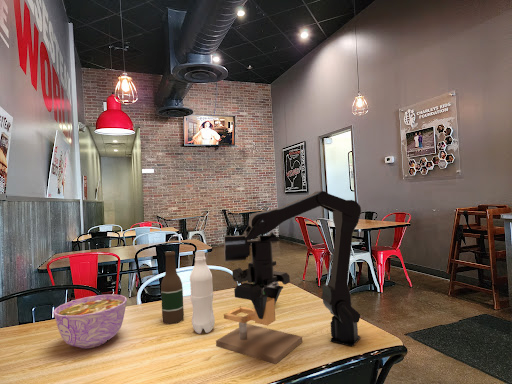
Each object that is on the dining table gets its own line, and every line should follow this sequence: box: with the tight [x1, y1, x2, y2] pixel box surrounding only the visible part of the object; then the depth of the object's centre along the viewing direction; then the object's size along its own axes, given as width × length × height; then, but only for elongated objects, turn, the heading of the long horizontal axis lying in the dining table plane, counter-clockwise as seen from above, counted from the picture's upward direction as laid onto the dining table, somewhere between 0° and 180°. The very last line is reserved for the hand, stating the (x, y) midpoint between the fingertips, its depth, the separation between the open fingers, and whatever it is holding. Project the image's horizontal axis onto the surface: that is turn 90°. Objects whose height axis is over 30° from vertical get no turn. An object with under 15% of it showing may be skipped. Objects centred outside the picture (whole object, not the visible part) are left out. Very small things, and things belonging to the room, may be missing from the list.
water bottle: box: [189, 250, 216, 334], centre depth 103 cm, size 7×7×25 cm
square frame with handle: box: [223, 297, 277, 326], centre depth 90 cm, size 14×7×6 cm, turn 54°
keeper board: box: [215, 322, 303, 365], centre depth 91 cm, size 20×14×7 cm
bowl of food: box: [52, 294, 128, 349], centre depth 98 cm, size 20×20×12 cm
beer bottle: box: [160, 250, 185, 325], centre depth 113 cm, size 8×8×24 cm
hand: (265, 316), depth 87 cm, fingers closed on square frame with handle, 4 cm apart
